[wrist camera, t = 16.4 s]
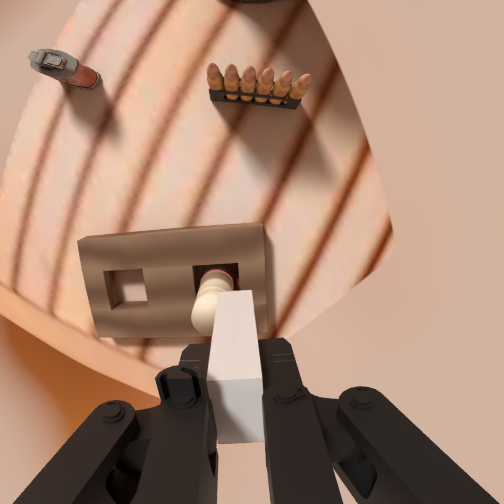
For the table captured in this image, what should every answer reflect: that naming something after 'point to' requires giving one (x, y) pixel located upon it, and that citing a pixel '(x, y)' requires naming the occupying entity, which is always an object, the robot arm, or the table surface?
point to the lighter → (64, 68)
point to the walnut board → (168, 276)
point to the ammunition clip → (262, 94)
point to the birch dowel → (210, 297)
